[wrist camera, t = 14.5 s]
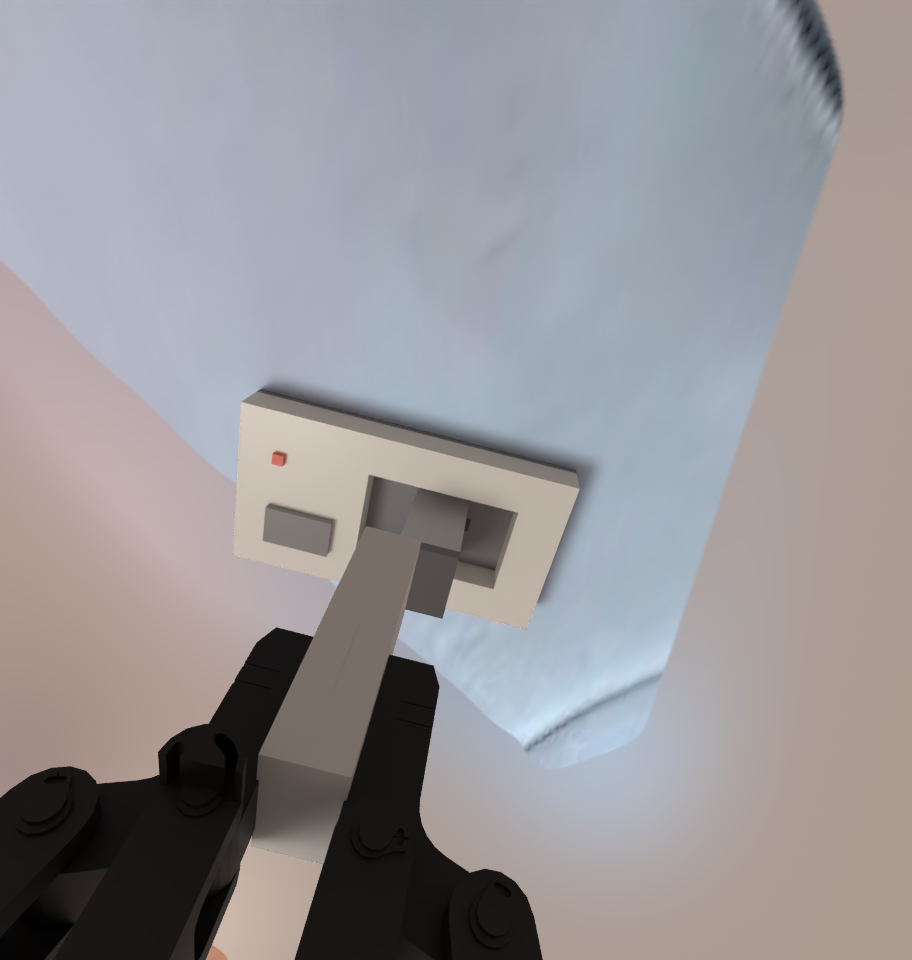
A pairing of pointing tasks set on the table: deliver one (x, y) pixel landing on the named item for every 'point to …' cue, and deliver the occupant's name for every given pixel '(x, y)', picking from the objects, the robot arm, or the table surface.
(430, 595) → the plug
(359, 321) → the table surface
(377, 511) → the socket plate
